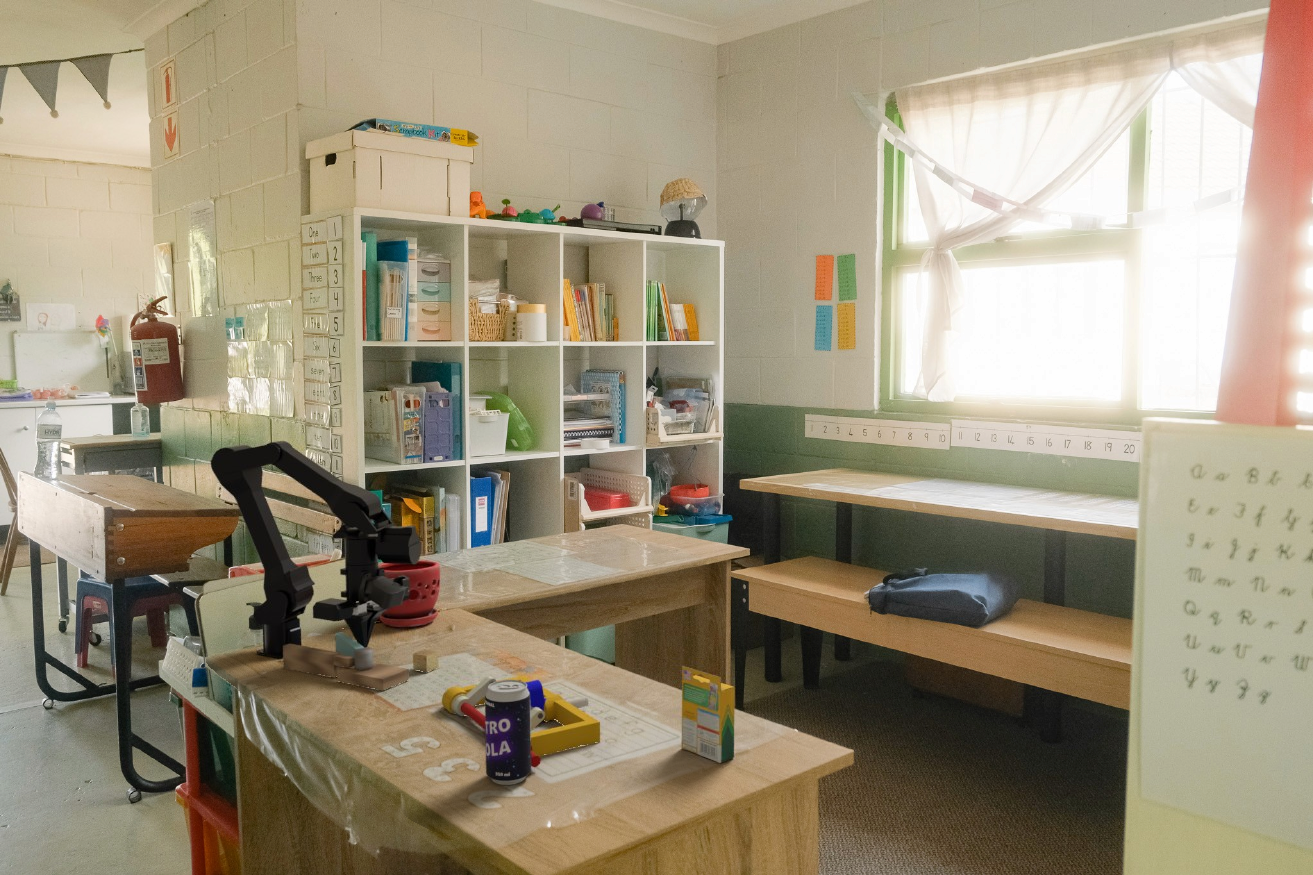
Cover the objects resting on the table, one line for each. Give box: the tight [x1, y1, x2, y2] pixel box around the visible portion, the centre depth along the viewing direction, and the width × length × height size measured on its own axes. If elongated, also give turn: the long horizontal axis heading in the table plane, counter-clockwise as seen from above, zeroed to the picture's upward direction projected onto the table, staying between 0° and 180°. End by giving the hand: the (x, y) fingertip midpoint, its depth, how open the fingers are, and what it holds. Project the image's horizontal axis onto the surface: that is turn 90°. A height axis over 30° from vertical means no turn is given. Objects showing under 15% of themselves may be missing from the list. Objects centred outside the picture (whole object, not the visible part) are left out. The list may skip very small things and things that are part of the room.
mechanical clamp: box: [441, 675, 601, 768], centre depth 143 cm, size 18×6×30 cm
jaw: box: [334, 631, 364, 657], centre depth 172 cm, size 15×2×4 cm, turn 34°
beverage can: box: [484, 679, 532, 786], centre depth 124 cm, size 6×6×12 cm
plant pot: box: [378, 560, 441, 628], centre depth 200 cm, size 13×13×12 cm
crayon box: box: [681, 665, 736, 764], centre depth 132 cm, size 7×3×12 cm, turn 44°
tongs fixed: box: [282, 644, 410, 691], centre depth 166 cm, size 24×6×5 cm, turn 62°
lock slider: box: [412, 648, 439, 673], centre depth 169 cm, size 3×3×3 cm
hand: (363, 647), depth 177 cm, fingers closed
